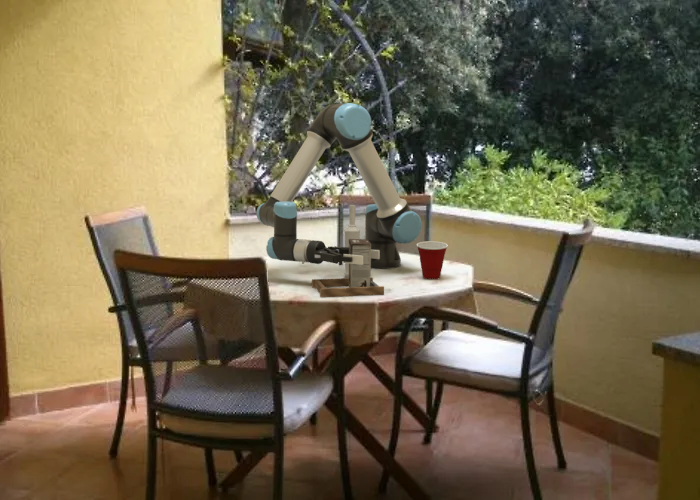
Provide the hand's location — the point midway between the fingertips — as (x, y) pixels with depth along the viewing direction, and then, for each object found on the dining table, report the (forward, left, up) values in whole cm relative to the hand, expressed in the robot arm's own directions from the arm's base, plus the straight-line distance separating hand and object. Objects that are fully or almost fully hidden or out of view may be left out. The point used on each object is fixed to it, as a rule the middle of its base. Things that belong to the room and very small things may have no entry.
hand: (371, 257), depth 250 cm
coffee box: (+3, -3, -11) cm, 12 cm away
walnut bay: (+7, -3, -11) cm, 13 cm away
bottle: (+1, -23, -11) cm, 25 cm away
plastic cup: (-26, -18, -11) cm, 33 cm away
